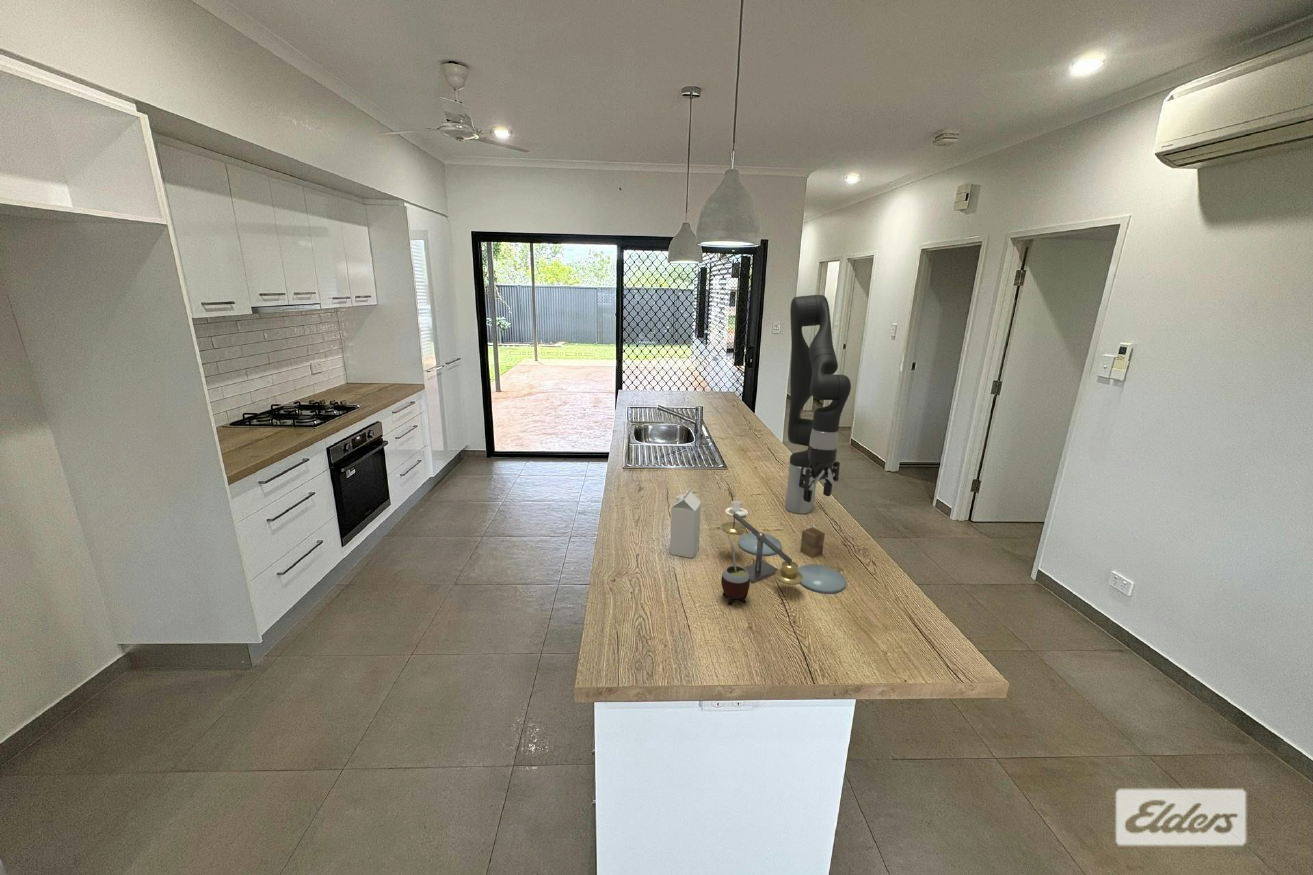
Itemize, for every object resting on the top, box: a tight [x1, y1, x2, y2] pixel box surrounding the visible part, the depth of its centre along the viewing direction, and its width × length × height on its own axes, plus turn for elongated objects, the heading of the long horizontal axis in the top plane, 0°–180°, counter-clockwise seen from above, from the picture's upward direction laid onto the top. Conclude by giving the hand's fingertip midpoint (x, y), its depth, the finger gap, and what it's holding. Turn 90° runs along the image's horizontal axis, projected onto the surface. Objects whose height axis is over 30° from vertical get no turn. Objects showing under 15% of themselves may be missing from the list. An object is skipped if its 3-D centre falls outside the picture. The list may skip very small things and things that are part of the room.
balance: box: [720, 513, 803, 586], centre depth 139 cm, size 10×28×14 cm, turn 33°
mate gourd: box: [720, 534, 751, 606], centre depth 127 cm, size 8×8×15 cm
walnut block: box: [799, 526, 825, 559], centre depth 152 cm, size 4×4×7 cm
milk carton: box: [669, 487, 702, 559], centre depth 150 cm, size 7×7×19 cm
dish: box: [798, 563, 847, 595], centre depth 138 cm, size 13×13×1 cm
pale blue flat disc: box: [737, 532, 782, 557], centre depth 157 cm, size 13×13×1 cm
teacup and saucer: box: [724, 500, 749, 518], centre depth 180 cm, size 9×8×4 cm
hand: (817, 498), depth 148 cm, fingers open, 8 cm apart
